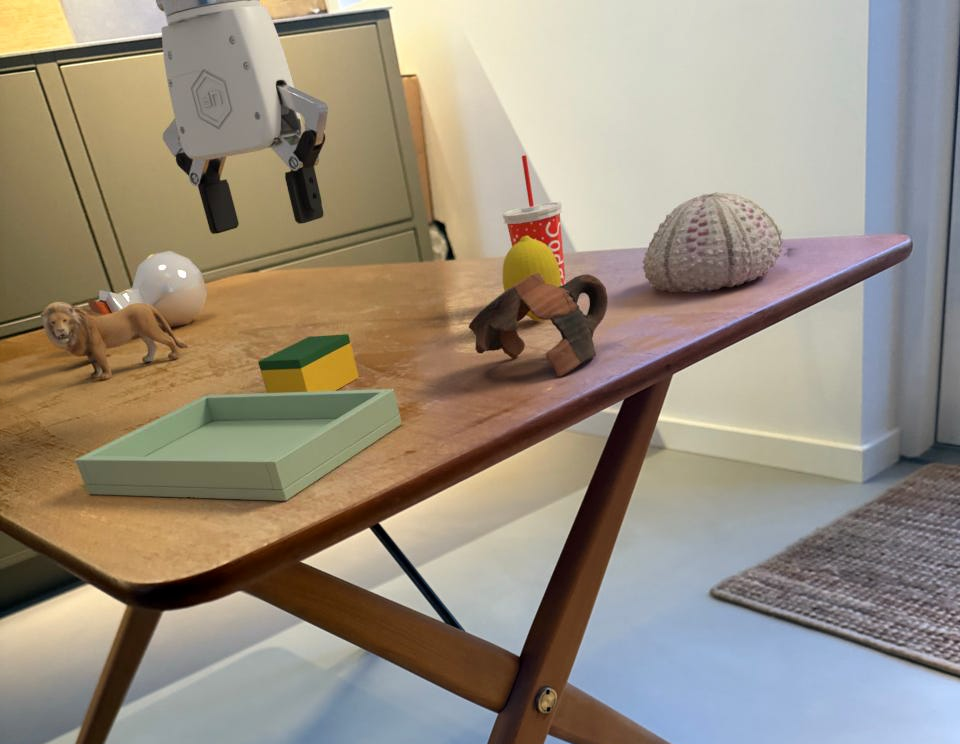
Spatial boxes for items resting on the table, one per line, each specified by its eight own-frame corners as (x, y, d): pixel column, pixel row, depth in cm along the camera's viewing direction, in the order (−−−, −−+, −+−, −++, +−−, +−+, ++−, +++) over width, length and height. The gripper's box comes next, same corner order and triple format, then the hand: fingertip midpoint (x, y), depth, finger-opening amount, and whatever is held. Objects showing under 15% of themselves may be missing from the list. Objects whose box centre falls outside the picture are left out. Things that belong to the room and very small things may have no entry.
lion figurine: (73, 392, 113) (41, 309, 108) (61, 386, 117) (29, 306, 112) (197, 353, 119) (171, 273, 115) (180, 349, 123) (155, 271, 119)
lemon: (536, 313, 104) (523, 230, 100) (577, 314, 100) (566, 227, 96) (498, 329, 101) (484, 244, 97) (539, 330, 97) (526, 242, 93)
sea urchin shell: (736, 299, 93) (730, 206, 89) (617, 300, 102) (607, 214, 99) (809, 263, 101) (806, 175, 97) (691, 266, 110) (685, 186, 106)
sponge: (270, 406, 91) (257, 361, 89) (319, 379, 97) (308, 336, 95) (310, 405, 89) (298, 359, 87) (359, 377, 94) (348, 333, 92)
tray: (88, 494, 78) (74, 459, 77) (215, 426, 89) (205, 395, 87) (286, 501, 68) (274, 461, 67) (402, 424, 79) (394, 388, 77)
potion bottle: (225, 323, 141) (126, 368, 136) (187, 280, 144) (89, 322, 139) (217, 270, 133) (111, 316, 128) (177, 225, 136) (73, 268, 131)
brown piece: (538, 395, 80) (476, 306, 79) (503, 424, 89) (447, 344, 88) (650, 315, 83) (592, 228, 82) (605, 351, 92) (552, 273, 91)
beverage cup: (537, 307, 106) (514, 161, 100) (506, 303, 111) (482, 163, 105) (585, 292, 109) (566, 147, 102) (553, 288, 113) (533, 150, 107)
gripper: (100, 19, 83) (165, 243, 91) (262, -26, 74) (319, 225, 82) (165, 15, 88) (222, 226, 96) (324, -28, 80) (371, 208, 88)
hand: (266, 225), depth 89 cm, fingers open, 9 cm apart
